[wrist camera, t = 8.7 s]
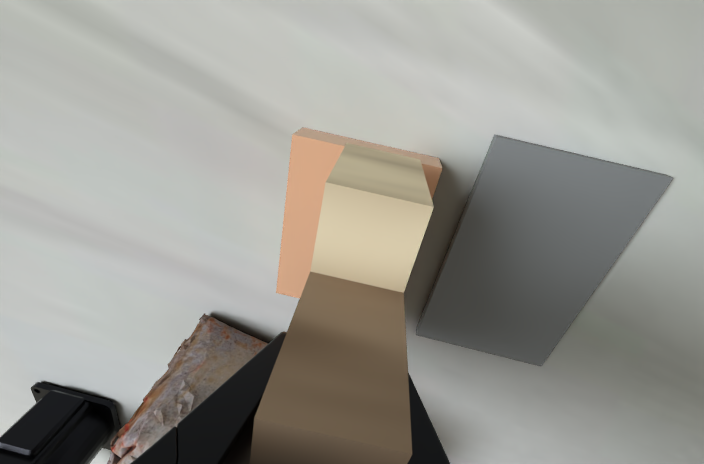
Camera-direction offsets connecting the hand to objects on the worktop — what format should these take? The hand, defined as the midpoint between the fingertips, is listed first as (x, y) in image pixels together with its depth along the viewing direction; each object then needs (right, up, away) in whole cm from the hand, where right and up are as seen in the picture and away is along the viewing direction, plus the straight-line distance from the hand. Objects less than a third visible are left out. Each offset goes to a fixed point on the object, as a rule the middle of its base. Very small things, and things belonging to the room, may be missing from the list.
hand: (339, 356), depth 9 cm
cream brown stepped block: (+1, +2, +4) cm, 5 cm away
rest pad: (+8, +2, +7) cm, 11 cm away
